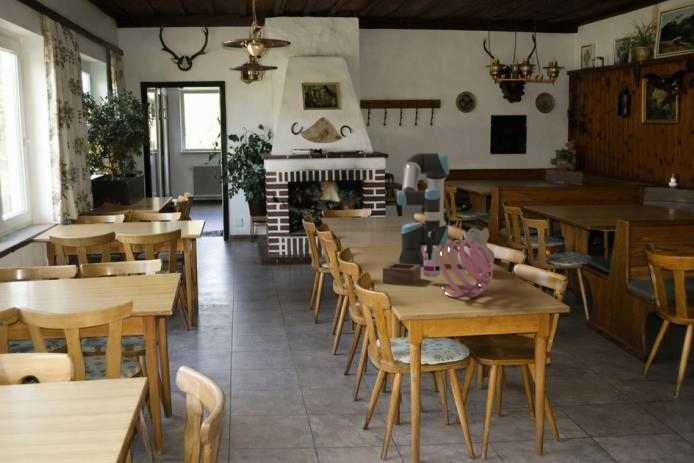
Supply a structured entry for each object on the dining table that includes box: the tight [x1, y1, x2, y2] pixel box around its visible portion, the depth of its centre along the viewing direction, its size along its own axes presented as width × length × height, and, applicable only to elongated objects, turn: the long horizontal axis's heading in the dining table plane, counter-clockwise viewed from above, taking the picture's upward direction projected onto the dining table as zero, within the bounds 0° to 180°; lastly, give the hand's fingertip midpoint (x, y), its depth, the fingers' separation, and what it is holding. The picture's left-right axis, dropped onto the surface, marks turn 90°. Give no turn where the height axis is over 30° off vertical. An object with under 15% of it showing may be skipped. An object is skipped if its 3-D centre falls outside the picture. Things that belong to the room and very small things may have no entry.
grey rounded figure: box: [457, 227, 495, 275], centre depth 411 cm, size 22×20×25 cm
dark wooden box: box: [382, 262, 422, 286], centre depth 393 cm, size 16×16×8 cm
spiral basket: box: [439, 239, 494, 299], centre depth 357 cm, size 28×28×27 cm
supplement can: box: [423, 245, 441, 278], centre depth 386 cm, size 8×8×15 cm
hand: (431, 264), depth 386 cm, fingers closed on supplement can, 8 cm apart
